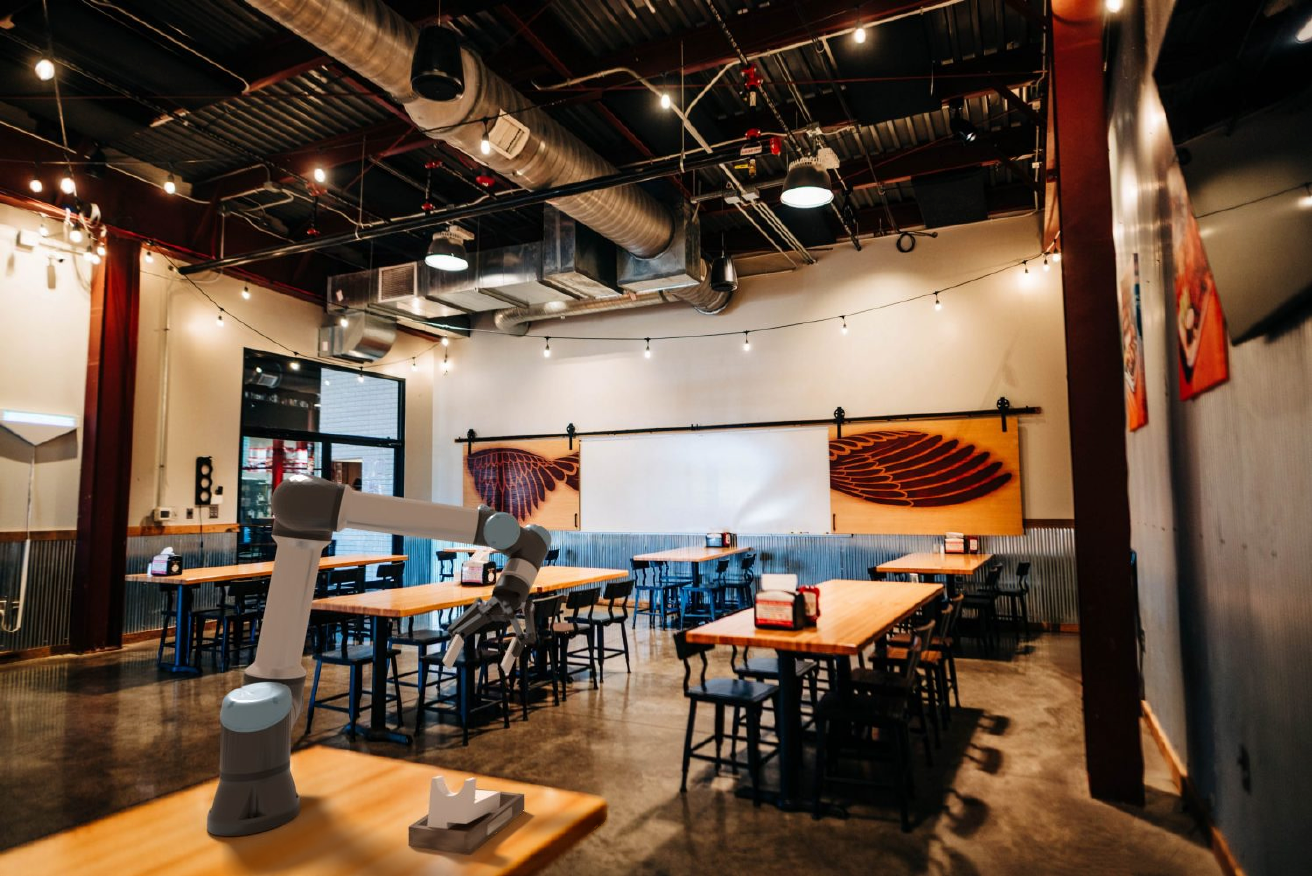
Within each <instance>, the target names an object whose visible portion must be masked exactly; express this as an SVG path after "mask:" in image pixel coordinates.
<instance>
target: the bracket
mask: <svg viewBox="0 0 1312 876" xmlns="http://www.w3.org/2000/svg"><path fill="white" fill-rule="evenodd" d="M476 789H477V777H470V778H466V779H465V780H464V781H463V785H462V788H461V789H460V791H458V792H453V791H451V790H450V789H449V788H448V787H447V785H446V783H445V776H444V775H437V776H434V777H431V781H430V791H429V792H430V793H429V802H428V813H427V815H428V824H427V827H435V828H448V827H450V826H452V825H454V824H456V823H463V824H467V823H469V822H471V821H473V820H475V819H477V818H479V817H481V816H483V815H485V814H487V813H489V812H491V811H493V810H495V809H497V808H499V807H500V792H499V790H493V791H484V790H485V789H484V790H476Z"/></svg>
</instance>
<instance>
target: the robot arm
mask: <svg viewBox="0 0 1312 876" xmlns="http://www.w3.org/2000/svg"><path fill="white" fill-rule="evenodd" d="M270 503H271V504H270V505H271V506H270V507H271V510H272V511H271V512H272V514H273V516H274V521H273V526H272V527H273V528H272V530H271V537H272V539H273V540H274V542H275V543H276V545H277V548H276V553H275V558H274V563H273V568H272V572H271V573H272V574H271V578H270V583H269V588H268V592H267V598H266V605H265V609H264V613H263V619H262V624H261V628H260V634H259V639H258V644H257V649H256V654H255V660H254V661H253V663H252V664H250V665H249V666H247V667H246V668H245V669H244V672H243V678H242V683H241V687H240V688H235V689H233V690H232V691H229V692H228V693H227V694H226V695H225V696H224V698H223V700H222V702H221V709H220V712H219V719H220V737H219V739H220V741H219V743H220V746H219V779H218V781H219V782H218V785H217V788H216V792H215V795H214V797H213V801H212V805H211V807H210V809H209V811H208V813H207V816H206V830H207V832H208V833H210V834H211V835H215V836H221V837H238V836H246V835H247V836H249V835H252V834H258V833H262V832H265V831H269V830H272V829H275V828H277V827H280V826H282V825H285V824H286V823H289V822H291V821H292V820H293V819H295V818H296V817H297V816H298V815H299V814H300V810H301V809H300V803H301V802H300V795H299V794H298V792H297V788H296V787H297V786H296V785H295V780H294V778H293V775H292V771H291V747H292V746H291V745H292V743H291V740H292V739H291V736H292V730H293V727H294V726H295V723H297V722H298V720H299V718H300V716H301V714H302V712H303V708H304V702H305V700H304V698H305V697H304V690H305V685H306V684H305V683H306V679H307V670H306V669H305V668H304V666H302V659H303V658H302V657H303V652H304V648H305V641H306V636H307V632H308V631H307V630H308V627H309V621H310V616H311V610H312V604H313V599H314V595H315V589H316V584H317V577H318V572H319V567H320V564H321V563H320V562H321V557H322V552H323V549H324V548H326V547H327V546H329V545H330V544H331V543H332V539H333V534H334V533H340V532H341V531H343V530H345V529H352V530H357V531H358V530H360V531H364V532H365V531H367V532H374V533H380V534H381V533H382V534H389V535H397V536H404V537H405V536H406V537H414V538H420V539H428V540H434V541H435V540H436V541H443V542H451V543H457V544H464V545H465V544H466V545H473V546H474V545H475V546H478V547H487V548H492V549H494V550H495V551H497V552H499V553H500V554H502V555H504V556H506V557H507V558H508V559H507V561H506V563H505V565H503V566H504V567H503V569H502V571H501V572H500V574H499V578H498V579H497V581H496V583H495V585H494V587H493V589H492V593H491V597H490V598H489V599H488V600H484V599H482V597H481V596H478V597H477V598H476V599H475V600H474V602H473V603H472V605H471V606H470V607H469V608H468V609H466V610H465V611H464V612H463V613H462V614H461V615H460V616H459V617H458V618H457V619H455V621H453V622H452V623H451V624H450V625H449V626H448V627H447V628H446V631H447V632H448V634H449V636H450V637H451V638H450V640H449V641H448V644H447V646H446V649H447V650H446V653H445V655H444V656H443V659H442V663H443V664H444V666H445V667H446V668H447V669H448V670H452V668H453V665H454V663H455V661H456V659H457V658H458V656H459V653H460V652H461V649H462V648H463V646H464V644H465V641H464V639H465V638H467V637H468V636H470V635H472V634H473V633H474V632H476V631H477V630H479V629H480V628H481V627H483V626H484V625H486V624H490V623H491V622H499V621H501V622H506V623H507V621H510V623H511V626H512V628H513V629H514V632H515V636H516V637H512V639H511V642H510V644H509V646H508V648H507V649H506V652H505V655H504V657H503V659H502V661H501V663H500V667H501V669H502V671H504V673H505V674H510V672H511V670H512V667H513V664H514V662H515V661H516V658H519V657H520V656H521V653H522V651H523V649H524V647H525V645H527V644H528V643H531V644H534V643H535V642H536V641H537V639H536V627H535V619H534V617H535V616H534V613H535V610H536V606H535V604H534V603H533V601H532V599H528V597H529V595H530V591H531V589H532V588H533V585H534V583H535V582H536V579H537V576H538V574H539V572H540V570H541V568H542V565H543V563H544V562H545V559H546V557H547V555H548V554H549V550H550V547H551V544H552V541H553V540H552V539H553V538H552V535H551V533H550V531H549V530H548V529H547V528H545V527H544V526H542V525H537V524H535V523H530V524H527V525H525V526H524V527H523V526H521V525H520V523H519V521H518V520H517V518H516V517H515V516H514V515H512V514H511V513H510V512H504V511H498V510H495V509H494V508H493V507H490V506H488V505H486V504H484V503H482V504H479V505H478V506H477V508H473V507H467V506H460V505H453V504H446V503H439V502H434V501H426V500H419V499H413V498H412V499H411V498H407V497H406V498H405V497H400V496H392V495H385V494H379V493H371V492H368V491H367V492H365V491H360V490H359V491H358V490H354V489H353V488H352V487H351V486H350V484H345V483H339V482H334V481H330V480H327V479H326V478H324V477H320V476H316V475H314V474H309V473H300V474H294V475H292V476H289V477H287V478H285V479H284V480H283V481H281V482H280V483H279V484H278V485H277V486H276V488H275V489H274V492H273V493H272V496H271V500H270ZM522 610H523V614H524V625H525V626H524V627H525V633H524V632H523V629H522V627H521V624H520V622H519V619H518V617H517V615H518V614H519V613H520V612H521V611H522ZM487 614H488V616H487Z"/></svg>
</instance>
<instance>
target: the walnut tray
mask: <svg viewBox="0 0 1312 876" xmlns="http://www.w3.org/2000/svg"><path fill="white" fill-rule="evenodd" d="M476 790H484V791H494V790H492V789H483V788H476ZM498 791H499V790H498ZM499 792H500V807H499V808H497V809H495V810H493V811H491V812H489V813H487V814H485V815H483V816H481V817H479V818H477V819H475V820H473V821H471V822H469V823H467V824H463V823H456V824H454V825H452V826H450V827H448V828H435V827H427V824H428V814H426V815H425V816H423V817H421V818H420V819H418V820H417V821H415V822H414V823H412V824H410V825H409V826H408V846H412V847H418V848H424V849H430V850H431V849H432V850H437V851H442V852H443V851H444V852H449V853H451V852H452V853H458V854H464V855H471V854H472V853H474V852H475V851H476V850H477V849H479V848H480V847H481V846H483V845H484V844H485V843H486V842H487V841H489V840H490V839H491V838H492V837H494V836H495V835H496V834H497V833H498V831H499V832H500V831H501V830H503V829H504V828H505V827H506V826H508V825H509V824H510V823H511V822H512V821H513V819H514V818H515V817H516V818H517V817H519V816H520V815H521V814H522V813H523V812H522V811H523V810H524V811H525V794H524V793H518V792H517V793H516V792H510V791H508V792H507V791H501V790H500V791H499ZM521 812H522V813H521ZM520 813H521V814H520ZM519 814H520V815H519ZM518 815H519V816H518ZM516 818H515V819H516ZM515 819H514V820H515ZM505 825H506V826H505ZM504 826H505V827H504ZM503 827H504V828H503ZM496 832H497V833H496ZM495 833H496V834H495ZM493 835H494V836H493ZM489 838H490V839H489ZM488 839H489V840H488Z"/></svg>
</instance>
